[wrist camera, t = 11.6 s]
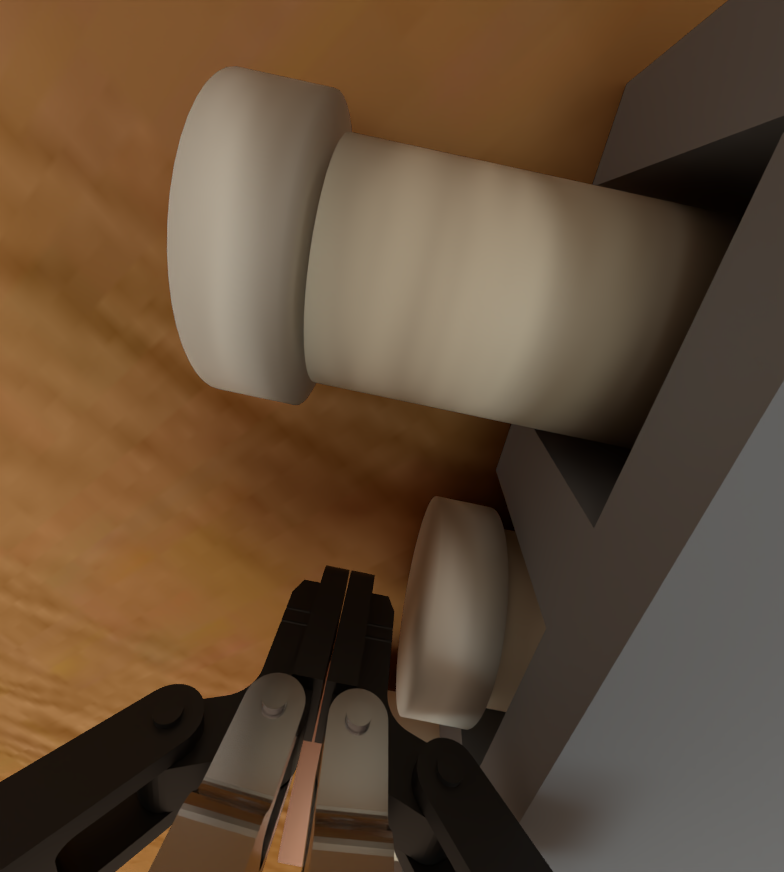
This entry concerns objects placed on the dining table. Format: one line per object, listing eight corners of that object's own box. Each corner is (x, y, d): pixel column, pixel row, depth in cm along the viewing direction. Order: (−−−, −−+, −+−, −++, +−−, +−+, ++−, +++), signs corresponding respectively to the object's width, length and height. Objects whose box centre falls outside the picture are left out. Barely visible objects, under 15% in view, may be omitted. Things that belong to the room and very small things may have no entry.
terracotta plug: (555, 673, 19) (614, 865, 13) (511, 758, 21) (543, 950, 16) (331, 628, 19) (288, 801, 13) (313, 719, 21) (271, 897, 15)
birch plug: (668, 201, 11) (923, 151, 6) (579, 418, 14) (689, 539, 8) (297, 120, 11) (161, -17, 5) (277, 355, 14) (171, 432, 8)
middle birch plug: (715, 519, 15) (898, 689, 9) (639, 644, 18) (743, 838, 12) (437, 461, 15) (446, 596, 9) (401, 596, 18) (389, 768, 12)
